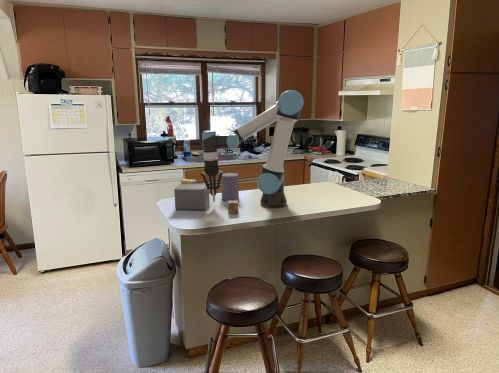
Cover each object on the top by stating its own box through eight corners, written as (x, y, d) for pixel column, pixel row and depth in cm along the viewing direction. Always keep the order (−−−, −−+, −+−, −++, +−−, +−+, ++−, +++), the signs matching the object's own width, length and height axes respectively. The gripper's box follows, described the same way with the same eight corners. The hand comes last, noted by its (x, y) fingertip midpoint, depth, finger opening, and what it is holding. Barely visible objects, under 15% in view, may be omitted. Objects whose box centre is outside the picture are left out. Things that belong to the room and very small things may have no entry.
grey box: (207, 204, 217) (206, 184, 215) (204, 210, 206) (203, 189, 203) (180, 204, 218) (179, 184, 215) (175, 210, 206) (174, 189, 203)
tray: (209, 204, 217) (209, 185, 215) (206, 210, 206) (206, 190, 203) (183, 203, 218) (182, 185, 215) (178, 210, 206) (177, 190, 204)
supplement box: (181, 201, 224) (180, 180, 221) (185, 199, 228) (184, 178, 225) (193, 202, 221) (192, 181, 218) (197, 200, 225) (196, 179, 222)
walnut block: (238, 211, 205) (238, 200, 203) (237, 213, 200) (237, 203, 198) (229, 211, 205) (228, 200, 203) (228, 213, 200) (228, 203, 198)
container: (220, 197, 233) (219, 173, 229) (236, 195, 236) (235, 172, 232) (224, 201, 223) (223, 176, 220) (240, 200, 226) (240, 175, 223)
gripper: (223, 157, 208) (226, 198, 214) (200, 158, 209) (204, 199, 215) (221, 160, 201) (224, 202, 207) (198, 161, 202) (201, 203, 207)
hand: (214, 200), depth 211 cm, fingers closed
